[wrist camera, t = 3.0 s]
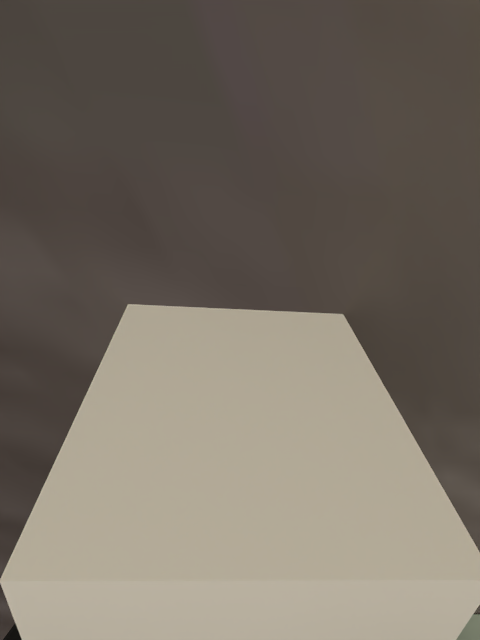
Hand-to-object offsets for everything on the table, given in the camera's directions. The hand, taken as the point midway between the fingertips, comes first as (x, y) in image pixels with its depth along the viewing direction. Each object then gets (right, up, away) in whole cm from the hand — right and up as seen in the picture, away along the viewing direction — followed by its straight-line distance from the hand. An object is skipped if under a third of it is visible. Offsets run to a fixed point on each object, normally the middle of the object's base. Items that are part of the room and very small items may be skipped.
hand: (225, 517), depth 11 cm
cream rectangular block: (0, +1, +1) cm, 2 cm away
